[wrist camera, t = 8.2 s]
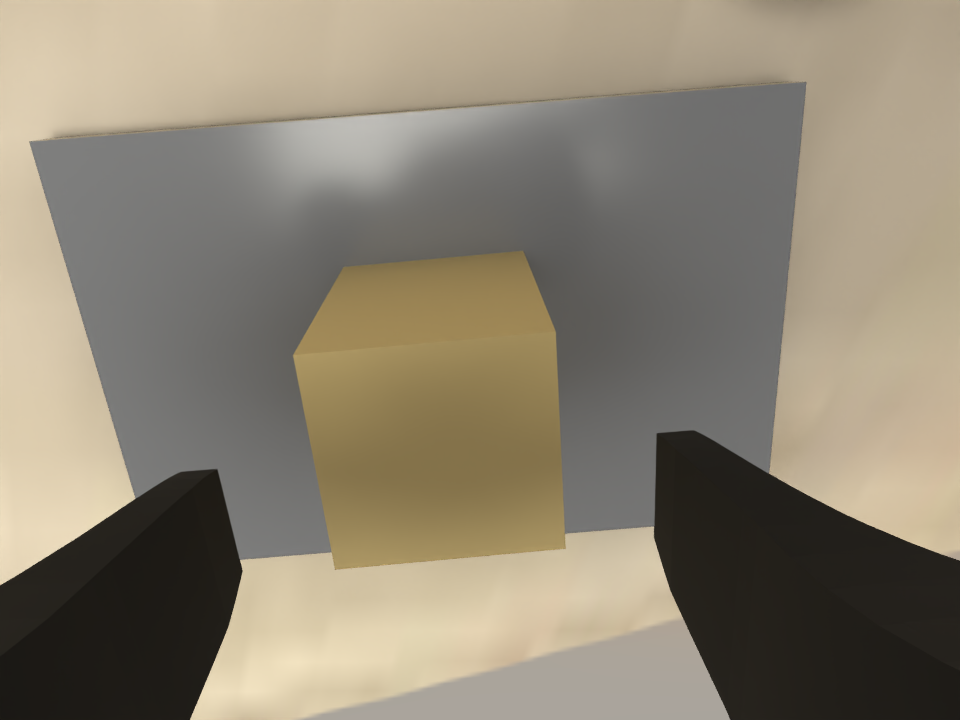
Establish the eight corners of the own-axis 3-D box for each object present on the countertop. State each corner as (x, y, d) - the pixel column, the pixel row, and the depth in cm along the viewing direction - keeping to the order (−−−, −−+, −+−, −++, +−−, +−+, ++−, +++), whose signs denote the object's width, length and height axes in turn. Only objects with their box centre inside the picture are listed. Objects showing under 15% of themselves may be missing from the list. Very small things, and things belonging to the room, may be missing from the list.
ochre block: (523, 250, 18) (555, 331, 12) (533, 412, 19) (565, 548, 14) (343, 267, 18) (292, 355, 12) (369, 426, 19) (334, 569, 14)
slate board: (787, 81, 17) (806, 81, 16) (751, 498, 22) (764, 517, 21) (52, 138, 17) (29, 141, 16) (168, 545, 22) (155, 566, 21)
